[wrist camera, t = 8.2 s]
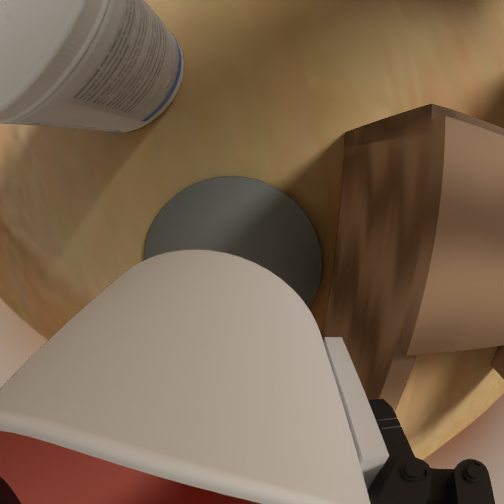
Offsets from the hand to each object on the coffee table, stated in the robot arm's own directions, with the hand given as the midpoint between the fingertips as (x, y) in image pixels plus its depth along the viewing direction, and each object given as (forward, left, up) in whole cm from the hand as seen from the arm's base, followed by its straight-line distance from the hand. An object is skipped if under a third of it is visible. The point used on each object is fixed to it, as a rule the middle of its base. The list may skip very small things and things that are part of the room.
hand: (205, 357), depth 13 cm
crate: (0, +20, -12) cm, 24 cm away
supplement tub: (-15, -9, -13) cm, 21 cm away
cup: (0, 0, -1) cm, 1 cm away
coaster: (0, 0, -12) cm, 12 cm away
